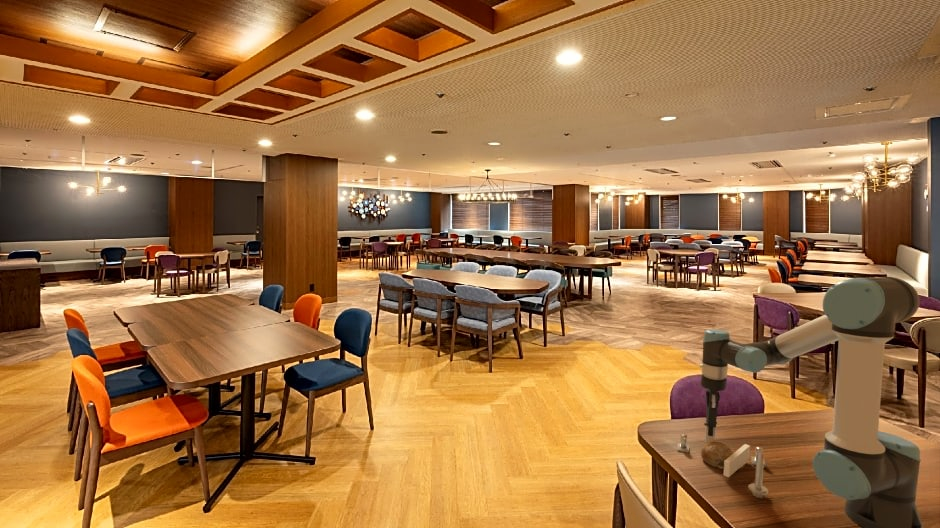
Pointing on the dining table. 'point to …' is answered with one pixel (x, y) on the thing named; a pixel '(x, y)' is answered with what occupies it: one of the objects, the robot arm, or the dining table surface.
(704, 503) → the dining table surface
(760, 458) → the screw
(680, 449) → the grey small pieces
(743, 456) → the gate
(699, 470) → the dining table surface
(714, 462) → the bread roll
